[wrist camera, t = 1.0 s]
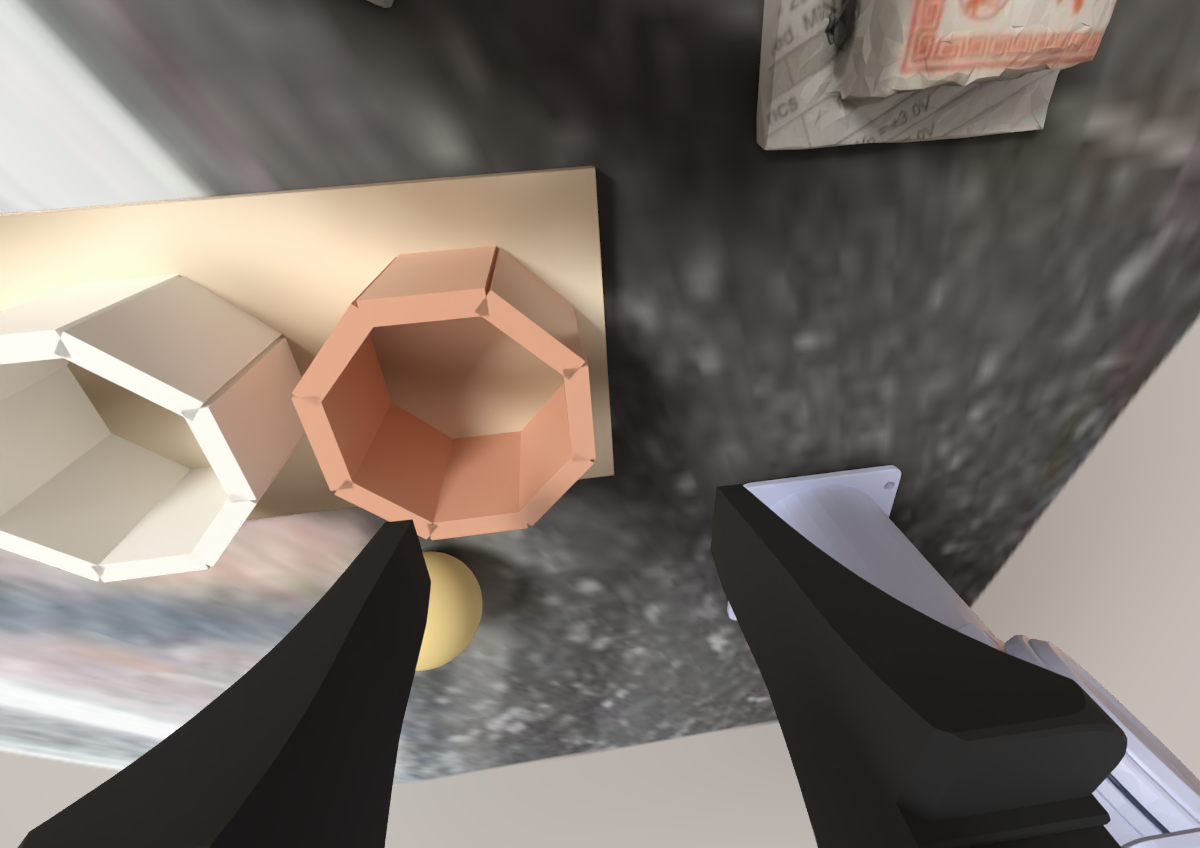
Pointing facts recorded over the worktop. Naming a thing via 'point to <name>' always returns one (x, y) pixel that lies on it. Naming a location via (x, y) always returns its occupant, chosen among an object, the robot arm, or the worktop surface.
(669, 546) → the worktop surface
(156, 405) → the rack board
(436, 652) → the ball
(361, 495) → the terracotta octagonal bowl
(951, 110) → the packaged product
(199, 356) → the tube white
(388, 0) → the skincare box
